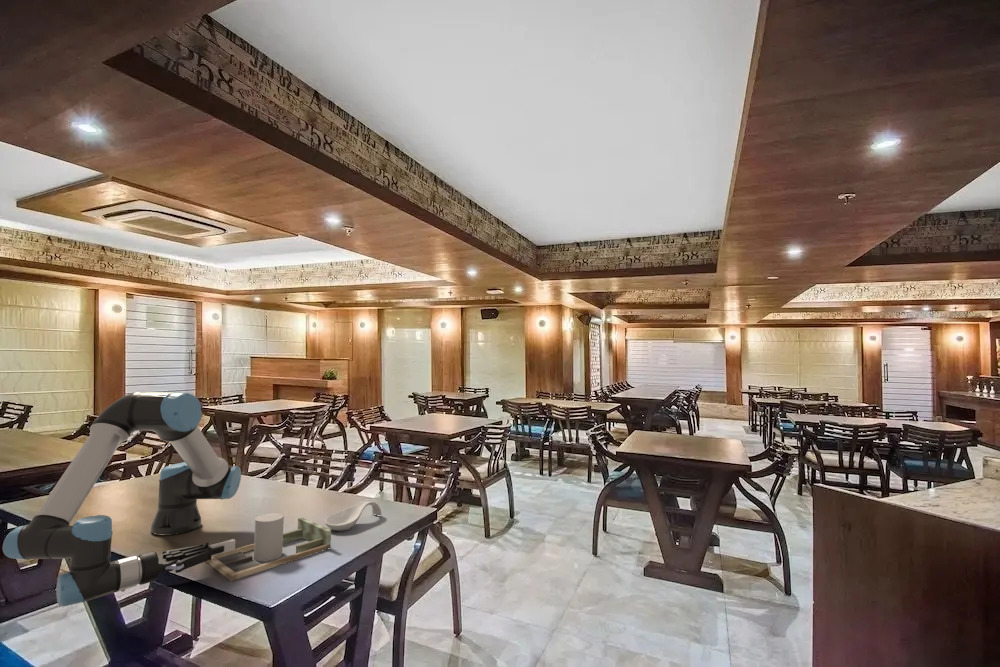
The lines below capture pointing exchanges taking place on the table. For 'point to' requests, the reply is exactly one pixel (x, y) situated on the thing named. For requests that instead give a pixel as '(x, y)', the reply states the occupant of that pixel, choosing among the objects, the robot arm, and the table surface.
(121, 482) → the table surface
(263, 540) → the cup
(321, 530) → the wooden tray frame
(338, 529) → the spoon rest
